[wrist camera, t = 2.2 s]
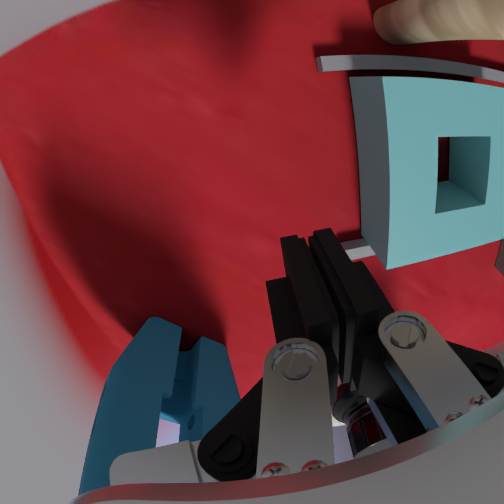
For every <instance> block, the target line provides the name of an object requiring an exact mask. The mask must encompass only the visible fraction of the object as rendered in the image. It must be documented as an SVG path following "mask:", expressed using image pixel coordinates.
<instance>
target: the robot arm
mask: <svg viewBox="0 0 504 504" xmlns="http://www.w3.org/2000/svg"><path fill="white" fill-rule="evenodd" d="M280 241H281V247H282V254H283V260H284V266H285V272H286V277H284V278H279V279H274V280H269V281H266V287H267V293H268V298H269V304H270V309H271V315H272V320H273V326H274V332H275V337H276V343H277V344H276V345H275V346H274V347H272V348H271V349H270V351H269V352H268V354H267V355H266V358H265V362H264V372H263V377H262V378H261V379H260V380H259V382H258V383H257V384H256V385H255V386H254V387H253V388H252V389H251V390H250V391H249V392H248V393H247V394H246V395H245V396H244V397H243V398H242V399H241V400H240V401H239V402H238V403H237V404H236V405H235V406H234V407H233V408H232V409H231V410H230V411H229V412H228V413H227V414H226V415H225V416H224V417H223V418H222V419H221V420H220V421H219V422H218V423H217V424H216V425H215V426H214V427H213V428H212V429H211V430H210V431H209V432H208V433H207V434H206V435H205V436H204V437H203V439H201V440H198V441H194V442H190V441H189V440H186V441H182V442H178V443H174V444H171V445H166V446H161V447H157V448H151V449H146V450H141V451H136V452H130V453H125V454H123V455H120V456H118V457H117V458H116V459H115V460H114V461H113V463H112V465H111V467H110V474H109V476H110V486H108V487H102V488H98V489H95V490H92V491H88V492H86V493H84V494H81V495H79V496H77V497H76V498H74V499H73V500H72V501H71V502H69V504H504V352H501V353H498V354H497V356H496V357H494V356H491V355H490V354H487V353H484V352H481V351H477V350H474V349H471V348H468V347H465V346H461V345H458V344H455V343H452V342H449V341H446V340H444V339H443V338H442V337H441V336H440V334H439V333H438V332H437V331H436V330H435V329H434V328H433V326H432V325H431V324H430V323H429V322H428V321H427V320H426V319H425V318H424V317H423V316H421V315H419V314H417V313H415V312H410V311H398V312H394V310H393V308H392V307H391V305H390V303H389V302H388V300H387V299H386V297H385V295H384V294H383V292H382V290H381V289H380V287H379V286H378V284H377V283H376V281H375V279H374V278H373V276H372V275H371V273H370V272H369V270H368V269H367V267H366V266H365V264H364V263H363V262H362V261H357V262H353V263H352V261H351V259H350V258H349V256H348V255H347V253H346V251H345V250H344V248H343V247H342V245H341V243H340V242H339V240H338V239H337V237H336V236H335V234H334V233H333V231H332V229H331V228H327V229H322V230H317V231H314V232H313V236H309V237H308V242H309V247H308V245H307V243H306V241H305V239H304V238H298V236H297V235H292V236H287V237H282V238H280ZM338 375H339V378H340V381H341V383H342V384H344V383H348V386H349V389H350V391H354V390H357V392H358V394H360V395H363V396H365V397H366V399H367V402H368V405H369V406H370V408H371V410H372V412H373V414H374V415H375V417H376V419H377V421H378V423H379V424H380V426H381V428H382V430H383V432H384V434H385V435H386V437H387V439H388V441H389V443H390V445H391V446H392V447H390V448H387V449H384V450H382V451H379V452H376V453H372V454H369V455H366V456H363V457H360V458H356V459H353V460H350V461H346V462H342V463H338V464H335V462H334V444H333V429H332V416H331V406H332V405H333V404H334V402H335V401H336V399H337V386H338Z"/></svg>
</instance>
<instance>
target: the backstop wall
mask: <svg viewBox="0 0 504 504" xmlns="http://www.w3.org/2000/svg"><path fill="white" fill-rule="evenodd" d="M316 63H317V69H318V72H325V71H340V70H412V71H427V72H438V73H448V74H456V75H463V76H470V77H476V78H482V79H487V80H493V81H498V82H502V83H504V72H502V71H498V70H494V69H490V68H485V67H481V66H476V65H471V64H465V63H459V62H453V61H446V60H439V59H431V58H421V57H409V56H393V55H334V56H320V57H317V58H316ZM341 245H342V247H343V248H344V250H345V251H346V253H347V255H348V256H349V258H350V259H351V260H354V259H358V258H363V257H368V256H372V255H376V254H375V253H374V251H373V250H372V248H371V247H370V246H369V244H368V243H367V241H366V240H365V239H364V238H361V239H356V240H351V241H346V242H341ZM495 267H496V268H497V269H498V270H499V271H500V272H501V273H502V274H503V275H504V239H502V241H501V245H500V249H499V253H498V257H497V260H496V264H495Z"/></svg>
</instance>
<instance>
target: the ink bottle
mask: <svg viewBox="0 0 504 504" xmlns="http://www.w3.org/2000/svg"><path fill="white" fill-rule="evenodd" d="M331 412H332V415H333V417H334V418H335V419H336V420H338V421H340V422H342V423H345V424H346V425H347V434H348V438H349V442H350V446H351V450H352V454H353V458H354V459H356V458H360V457H363V456H366V455H369V454H372V453H376V452H379V451H382V450H384V449H387V448H390V447H392V446H391V445H390V443H389V441H388V439H387V437H386V435H385V434H384V432H383V430H382V428H381V426H380V424H379V423H378V421H377V419H376V417H375V415H374V414H373V412H372V410H371V408H370V406H369V405H368V402H367V399H366V397H365V396H363V395H360V394H358V392H357V390H354V391H350V389H349V386H348V383H344V384H342V383H341V381H340V378H339V375H338V386H337V399H336V401H335V402H334V404H333V405H332V406H331Z"/></svg>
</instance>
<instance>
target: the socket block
mask: <svg viewBox="0 0 504 504" xmlns="http://www.w3.org/2000/svg"><path fill="white" fill-rule="evenodd" d="M349 82H350V88H351V95H352V103H353V111H354V119H355V128H356V138H357V149H358V162H359V177H360V198H361V235H362V236H363V237H364V239H365V240H366V241H367V243H368V244H369V246H370V247H371V248H372V250H373V251H374V253H375V254H376V255H377V257H378V258H379V260H380V261H381V262H382V264H383V265H384V267H385V268H386V270H388V269H392V268H396V267H400V266H404V265H408V264H412V263H416V262H420V261H424V260H428V259H432V258H436V257H440V256H444V255H447V254H451V253H455V252H458V251H462V250H466V249H469V248H473V247H476V246H480V245H483V244H487V243H490V242H494V241H497V240H500V239H504V88H501V87H496V86H491V85H485V84H479V83H473V82H465V81H457V80H448V79H437V78H424V77H401V76H364V77H349ZM438 137H450V157H449V180H448V181H441V182H437V176H438Z"/></svg>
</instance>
